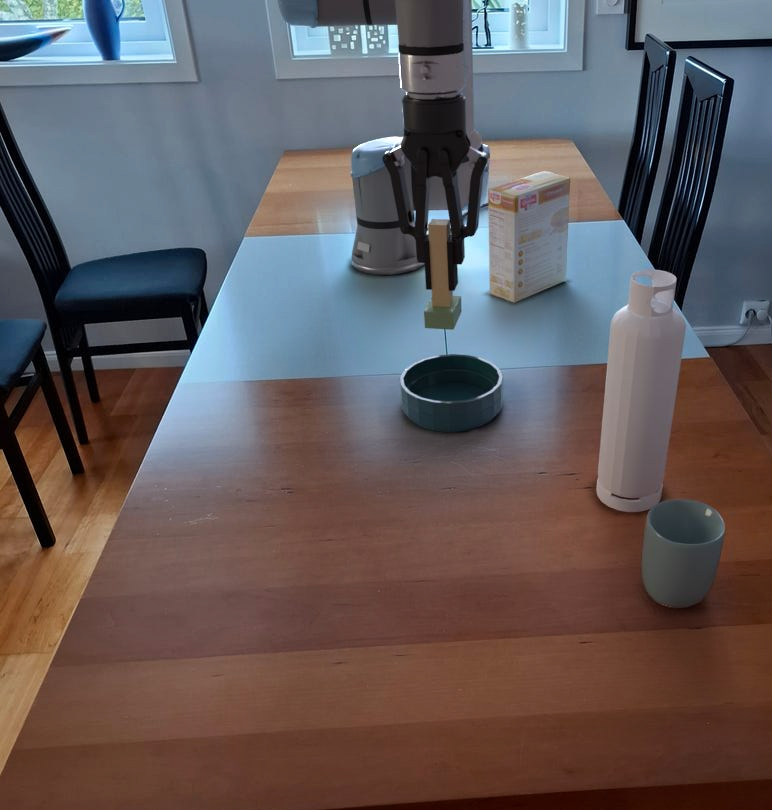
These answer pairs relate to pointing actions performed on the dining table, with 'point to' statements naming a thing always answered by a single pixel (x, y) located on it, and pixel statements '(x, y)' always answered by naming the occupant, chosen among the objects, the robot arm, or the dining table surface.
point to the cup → (681, 551)
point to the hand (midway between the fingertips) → (442, 286)
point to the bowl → (451, 392)
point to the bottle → (640, 394)
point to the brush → (440, 280)
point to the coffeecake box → (528, 235)
